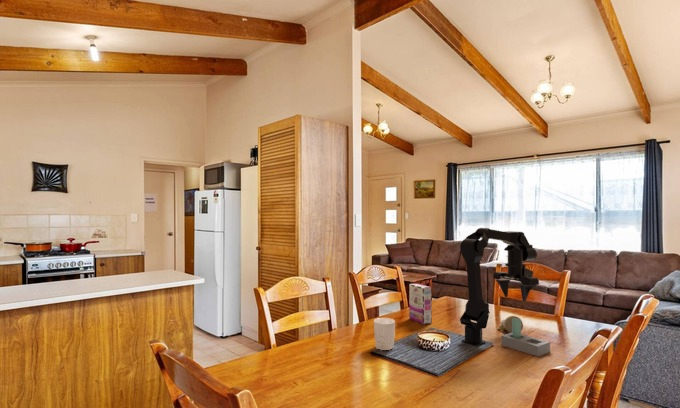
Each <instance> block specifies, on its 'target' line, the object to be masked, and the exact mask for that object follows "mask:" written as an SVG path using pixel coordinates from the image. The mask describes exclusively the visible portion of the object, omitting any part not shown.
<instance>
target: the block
mask: <svg viewBox="0 0 680 408" xmlns="http://www.w3.org/2000/svg"><path fill="white" fill-rule="evenodd" d="M501 346H503V347H505V348H506V347H507V348H510V349H512V350H516V351H518V352H523V353H525V354H529V355H532V356H535V357H540V356H543V355H547V354H548V353H550V352H551V341H548V340H544V339H540V338H537V337H533V336H529V335H526V334H522V333H521V338H520V339H517V338H514V337H512V333H510V332H508V333H505V334H502V335H501Z"/></svg>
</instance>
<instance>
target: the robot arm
mask: <svg viewBox="0 0 680 408" xmlns="http://www.w3.org/2000/svg"><path fill="white" fill-rule="evenodd" d="M489 240H495V241H501V242H503V243H504V244H506V246H505V248H504V249H503V250H504V251H507V263H504V264H505V265H504V266H505V267H507V271H506V272H505V271H494V273H493V280H494V279H495V282H497V284H498V285H499V287H500V289H501V291H502V293H503V296H504V297H505V298H507V297H508V296H509V284H510V281H515V282H520V285H519V288H520V292H521V299H522V302H525V303H526V301H527V299H528V296H529V294H530V291H531V290H532V289H533V288H534V287H537V286H539V285H540V280H539V278H538V277H534V271H533V270H530V269H529V268H526V265H525V263H524V262H528V261H534V260H535V259H537V256H538V253H537V250H536V249H535V248H534V247H533V244H530V243H529V241H528V238H527V237H526V235H525V233H524V232H523V231H512V230H509V231H508V230H506V231H501V230H497V229H493V228H492V229H491V228H489V227H488V228H487V227H478V228H477V229H476V230H475V232H472V233H471V234H469V235H467V236H466V237H465V238H464V239H463V240H462V241H461V242H460V243H459V246H460V247H459V249H460V253H461V256H462V257H463V259H464V261H465V263H466V275H467V289H468V299H467V301H466V304H465V310H464V312H463V313H462V314H461V316H460V318H459V322H460V324H461V325H464V338H463V339H461V342H463V343H466V344H468V343H469V345H471V344H472V346H474V345H476V346H479V345H482V344H485V343H486V341H485V340H483V329H487V326H488V321H489V317H490V315H489V314H490V313H491V312H490V304H489V303H488V302H486V301H485V300H484V298H483V286H482V274H481V261H482V258H483V257H484V252H485V251H484V250H485V249H486V247H487V246H488V245H489Z"/></svg>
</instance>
